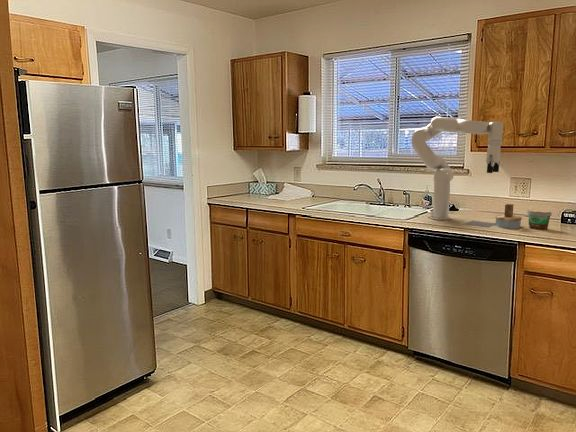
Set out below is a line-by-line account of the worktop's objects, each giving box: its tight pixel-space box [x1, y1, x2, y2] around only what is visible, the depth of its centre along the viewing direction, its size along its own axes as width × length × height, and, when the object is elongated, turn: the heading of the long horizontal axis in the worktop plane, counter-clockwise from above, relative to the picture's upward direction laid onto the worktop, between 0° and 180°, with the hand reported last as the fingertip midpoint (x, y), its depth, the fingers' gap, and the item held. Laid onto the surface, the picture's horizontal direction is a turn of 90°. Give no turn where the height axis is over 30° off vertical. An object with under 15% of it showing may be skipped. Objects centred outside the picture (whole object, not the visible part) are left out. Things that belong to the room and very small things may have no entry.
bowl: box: [495, 218, 522, 229], centre depth 269 cm, size 12×12×5 cm
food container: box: [527, 209, 553, 231], centre depth 263 cm, size 12×6×10 cm, turn 56°
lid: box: [495, 203, 523, 221], centre depth 268 cm, size 14×14×8 cm
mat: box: [463, 220, 496, 228], centre depth 277 cm, size 15×15×1 cm
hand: (492, 172), depth 278 cm, fingers open, 9 cm apart
